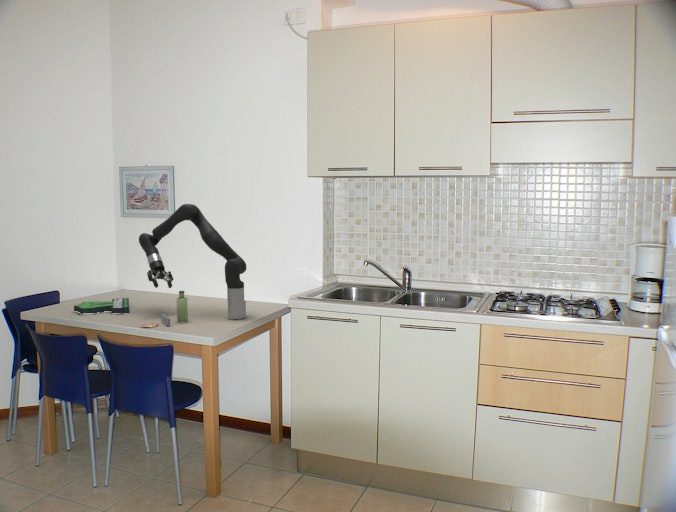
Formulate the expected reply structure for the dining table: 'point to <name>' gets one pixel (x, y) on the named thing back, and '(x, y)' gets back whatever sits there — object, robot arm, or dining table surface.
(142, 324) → the coaster
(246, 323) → the dining table surface
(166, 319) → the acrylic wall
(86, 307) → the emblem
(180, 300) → the bottle
